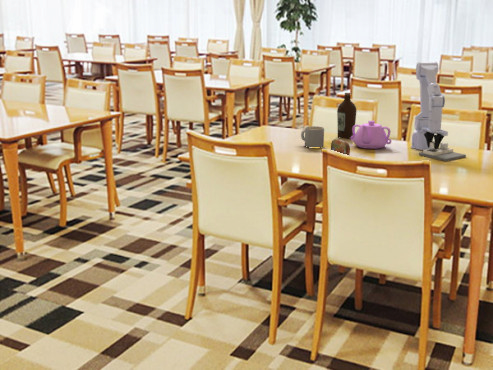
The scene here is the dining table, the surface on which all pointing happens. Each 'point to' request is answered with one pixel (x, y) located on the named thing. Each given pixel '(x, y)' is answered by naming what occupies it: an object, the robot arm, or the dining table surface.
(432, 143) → the pin
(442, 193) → the dining table surface
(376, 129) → the teapot
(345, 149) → the mottled brown rounded slab
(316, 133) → the coffee mug
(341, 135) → the olive oil
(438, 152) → the board
